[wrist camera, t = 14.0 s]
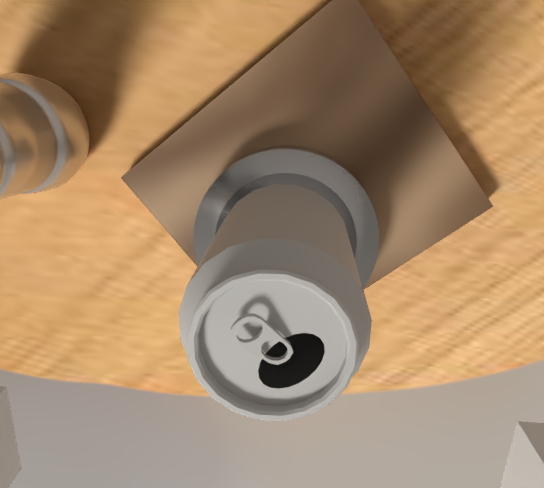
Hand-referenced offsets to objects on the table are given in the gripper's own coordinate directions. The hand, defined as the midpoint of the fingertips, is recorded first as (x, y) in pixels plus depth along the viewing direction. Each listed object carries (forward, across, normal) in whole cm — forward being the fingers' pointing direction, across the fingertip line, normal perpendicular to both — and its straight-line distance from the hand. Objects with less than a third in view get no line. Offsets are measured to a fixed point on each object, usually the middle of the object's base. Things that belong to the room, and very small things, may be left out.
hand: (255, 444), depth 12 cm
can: (+17, 0, 0) cm, 17 cm away
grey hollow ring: (+18, 0, 0) cm, 18 cm away
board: (+20, +1, +2) cm, 20 cm away
